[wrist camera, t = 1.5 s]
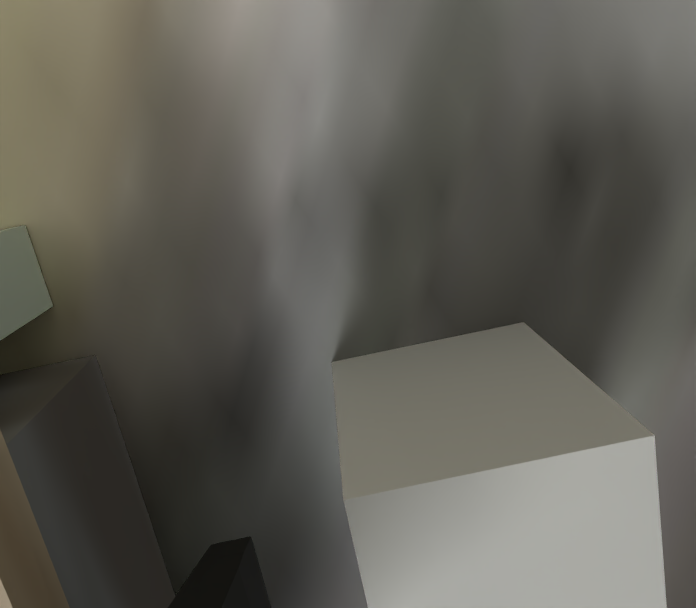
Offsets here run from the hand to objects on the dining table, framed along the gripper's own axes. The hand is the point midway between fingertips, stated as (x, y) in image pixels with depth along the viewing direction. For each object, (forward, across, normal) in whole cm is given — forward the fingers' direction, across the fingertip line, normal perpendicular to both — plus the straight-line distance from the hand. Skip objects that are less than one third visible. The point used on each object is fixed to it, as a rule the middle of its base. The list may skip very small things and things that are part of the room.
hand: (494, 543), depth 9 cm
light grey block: (+4, 0, 0) cm, 4 cm away
